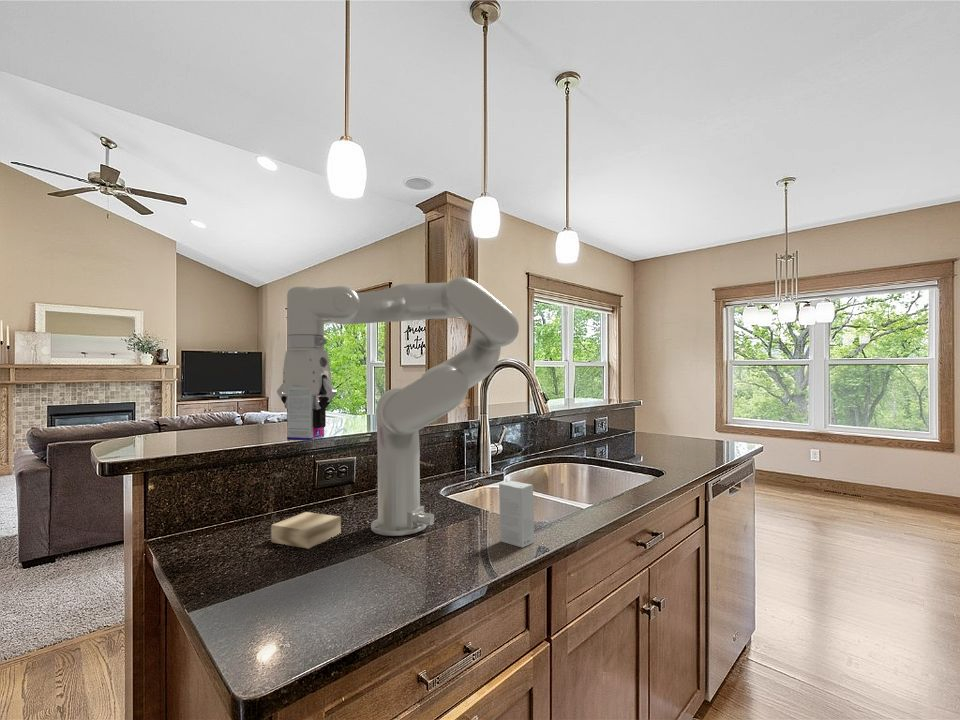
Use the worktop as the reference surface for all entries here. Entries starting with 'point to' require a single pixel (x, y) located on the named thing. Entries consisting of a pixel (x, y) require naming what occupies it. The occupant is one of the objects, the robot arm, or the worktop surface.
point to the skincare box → (516, 513)
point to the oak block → (305, 529)
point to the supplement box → (301, 415)
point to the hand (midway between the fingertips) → (306, 426)
